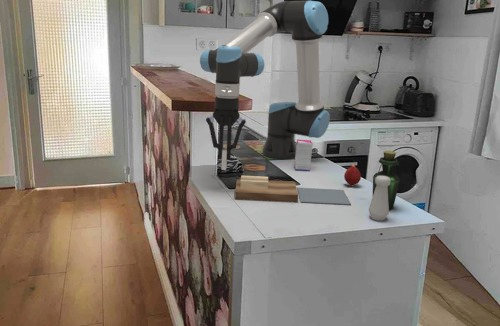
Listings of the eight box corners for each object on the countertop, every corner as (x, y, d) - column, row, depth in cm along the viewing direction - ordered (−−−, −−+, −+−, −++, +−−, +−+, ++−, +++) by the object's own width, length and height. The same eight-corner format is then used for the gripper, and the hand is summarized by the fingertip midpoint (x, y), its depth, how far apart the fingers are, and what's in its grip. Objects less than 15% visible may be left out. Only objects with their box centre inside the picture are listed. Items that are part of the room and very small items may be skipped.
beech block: (240, 182, 157) (241, 175, 156) (267, 183, 157) (268, 176, 156) (240, 188, 151) (240, 180, 151) (267, 189, 151) (268, 182, 151)
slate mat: (297, 188, 162) (297, 187, 162) (343, 190, 162) (343, 189, 162) (300, 202, 148) (300, 201, 148) (351, 205, 148) (351, 204, 148)
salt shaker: (363, 217, 139) (368, 175, 135) (375, 213, 142) (380, 172, 139) (380, 223, 135) (386, 180, 131) (391, 219, 138) (397, 177, 135)
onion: (362, 185, 168) (364, 164, 166) (356, 189, 164) (358, 167, 161) (347, 182, 171) (349, 161, 169) (340, 186, 167) (342, 164, 164)
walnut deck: (236, 185, 162) (237, 178, 161) (294, 188, 162) (294, 181, 161) (234, 199, 148) (235, 192, 148) (297, 202, 148) (298, 195, 148)
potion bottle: (393, 213, 143) (401, 156, 138) (367, 208, 146) (373, 152, 141) (397, 205, 150) (405, 151, 145) (372, 200, 153) (378, 147, 148)
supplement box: (310, 171, 183) (312, 143, 180) (295, 170, 183) (297, 142, 180) (308, 167, 189) (310, 139, 185) (293, 166, 188) (296, 138, 185)
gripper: (205, 96, 143) (202, 170, 149) (247, 99, 143) (243, 173, 149) (207, 94, 150) (205, 164, 156) (247, 96, 150) (244, 166, 156)
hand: (223, 168), depth 153 cm, fingers closed
